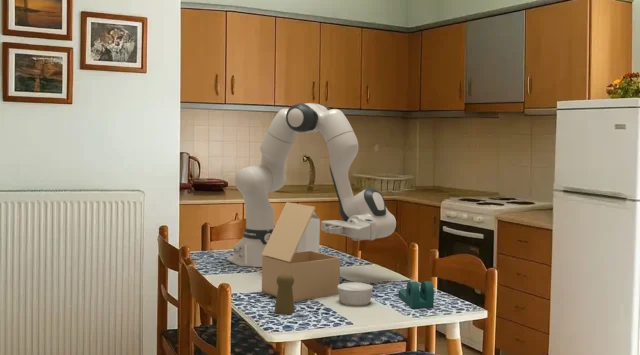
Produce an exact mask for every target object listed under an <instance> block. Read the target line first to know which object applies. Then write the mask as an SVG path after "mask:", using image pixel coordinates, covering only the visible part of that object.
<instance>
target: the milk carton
mask: <svg viewBox="0 0 640 355" xmlns="http://www.w3.org/2000/svg"><path fill="white" fill-rule="evenodd" d="M320 231H321V218H320V217H319V216H318V215H317V214H316V212H315V211H314V213H313V215H312V217H311V219H310V221H309V223H308V226H307V228H306V230H305V232H304V234H303V236H302V238H301V241H300V243H299V245H298V247H297V249H296V252H302V251H314V252H318V253H320V236H321V235H320V234H321V232H320Z"/></svg>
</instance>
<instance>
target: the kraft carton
mask: <svg viewBox="0 0 640 355" xmlns="http://www.w3.org/2000/svg"><path fill="white" fill-rule="evenodd" d="M282 274H288V275H292V276H293V278H294V284H293V286H292V290H293V299H294V303H295V302H299V301H304V300H312V299H317V298H323V297H328V296H336V295H339V293H338V289H337V286H338V285H339V284H341V257H338V256H334V255H330V254H326V253H322V252H319V253H318V252H314V251H302V252H297V251H295V254H294V256H293V258H292V260H291V262H287V261H284V260H280V259H277V258H273V257H269V256H262V267H261V293H263V294H266V295H269V296H272V297H275V298H277V292H278V285H277V277H278V276H279V275H282Z"/></svg>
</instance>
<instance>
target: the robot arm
mask: <svg viewBox="0 0 640 355" xmlns="http://www.w3.org/2000/svg"><path fill="white" fill-rule="evenodd" d="M299 133H306V134H310V133H320V134H321V135H322V137H323V139H324V141H325V144H326V146H327V150H328V154H329V172H330V176H331V180H332V183H333V187H334V190H335V192H336V193H335V194H336V197H337V201H338V205H339V206H338V207H339V208H338V209H339V214H340V216H341V217H340V218H342V220H340V219H339V220H336V219H331V220H329V219H327V220H322V221H320V231H322V232H324V233H326V234H330V235H331V234H335V235H339V236H344V237H349V238H350V239H351V240H352V241H354V242H355V241H374V240H375V239H381V238H386V237H389V236H391V235H392V234H393V233H394V232H395V229H397V228H396V227H397V221H396V217H395V216H394V215H393V213H391V212H390V211H389V210H388V208H387V206H386V202H385V197H384V195H383V194H382V193H381V192H380V191H379V190H378V189H376V188H374V187H367V188H365V189H363V190H362V191H360V192H358V193H357V194H355V195H354V192H353V190H352V186H351V185H352V184H351V181H350V179H349V178H350V177H349V171H350V167H351V165H352V164H353V162H354V160H356V159H355V158H356V157H357V155H358V153H359V141H358V137H357V136H356V134H355V133H356V132H355V131H354V129H353V127H352V125H351V124H350V121H349V120H348V118H347V117H346V115H345V114H344V113H343V111H342V110H340V109H337V108H333V109H330V108H329V107H328V106H327V105H324V104H322V103H314V102H308V103H307V102H305V103H302V102H300V103H295V104H293V105H291V106H290V107H289V108H282V109H279V111H278V112H277V113H276V115H275V116H274V118H273V119H272V121H271V123H270V125H269V126H268V129H267V131H266V133H265V135H264V137H263V139H262V142H261V144H260V148H259V151H260V153H261V160H260V163H259V164H258V165H249V166H246V167H244V168H242V169H241V168H240V169H239V170H238V171H237V172H236V174H235V177H234V185H235V187H236V189H237V190H238V191H239V192H240V194H241V195H242V197H243V201H244V206H245V221H246V222H245V223H246V224H245V228H243V229H242V232H243V235H242V238H241V239H240V240H238V242H237V243H235V244H234V246H233V252H232V253H233V254H232V255H231V256H228V257H227V258H226V261H228V262H231V263H233V264H235V265H237V266H239V267H255V268H258V267H259V268H262V256H266V255H263V254H262V253H263V251H264V248H265V246H266V244H267V242H268V240H269V238H270V236H271V234H272V232H273V230H274V228H275V207H274V206H273V205H272V204H271V203H270V198H269V196H268V193H274V192H277V191H278V190H280V189H282V188H284V186H285V184H286V181H287V176H286V171H285V167H286V161H287V159H288V156H289V153H290V152H291V149H292V147H293V144H294V142H295V140H296V137H297V135H299Z"/></svg>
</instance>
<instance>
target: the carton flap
mask: <svg viewBox="0 0 640 355" xmlns="http://www.w3.org/2000/svg"><path fill="white" fill-rule="evenodd" d="M316 208H317V207H316V206H312V205H307V204H301V203H295V202H288V201H287V202H286V203H285V205H284V207H283V208H282V210H281V213H280V215H279V218H278V219H277V221H276V224H274V230H273V232H272V234H271V236H270V238H269V240H268V242H267V244H266V246H265V248H264V251H263V253H262V254H263V255H266V256H269V257H273V258H277V259H280V260H284V261H287V262H291V260H292V258H293V256H294V254H295V252H297V247H298V245H299V243H300V241H301V238H302V236H303V234H304V232H305V230H306V228H307V226H308V223H309V221H310V219H311V217H312V215H313V213H314V212H315V210H316Z"/></svg>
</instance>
